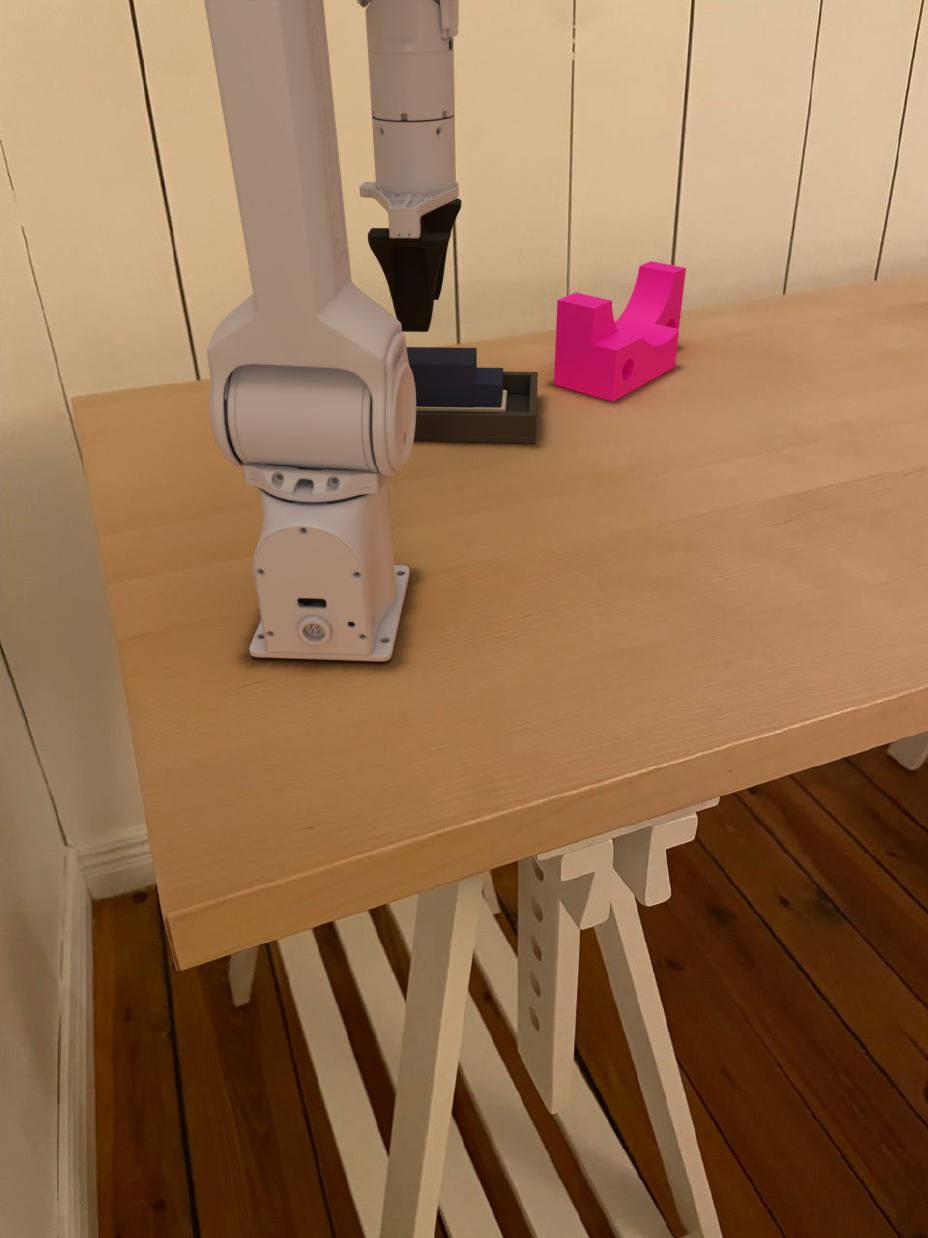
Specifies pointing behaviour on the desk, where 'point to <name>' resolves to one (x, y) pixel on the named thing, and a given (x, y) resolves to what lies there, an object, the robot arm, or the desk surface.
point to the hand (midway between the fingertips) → (420, 313)
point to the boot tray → (487, 417)
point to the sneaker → (455, 381)
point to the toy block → (620, 335)
